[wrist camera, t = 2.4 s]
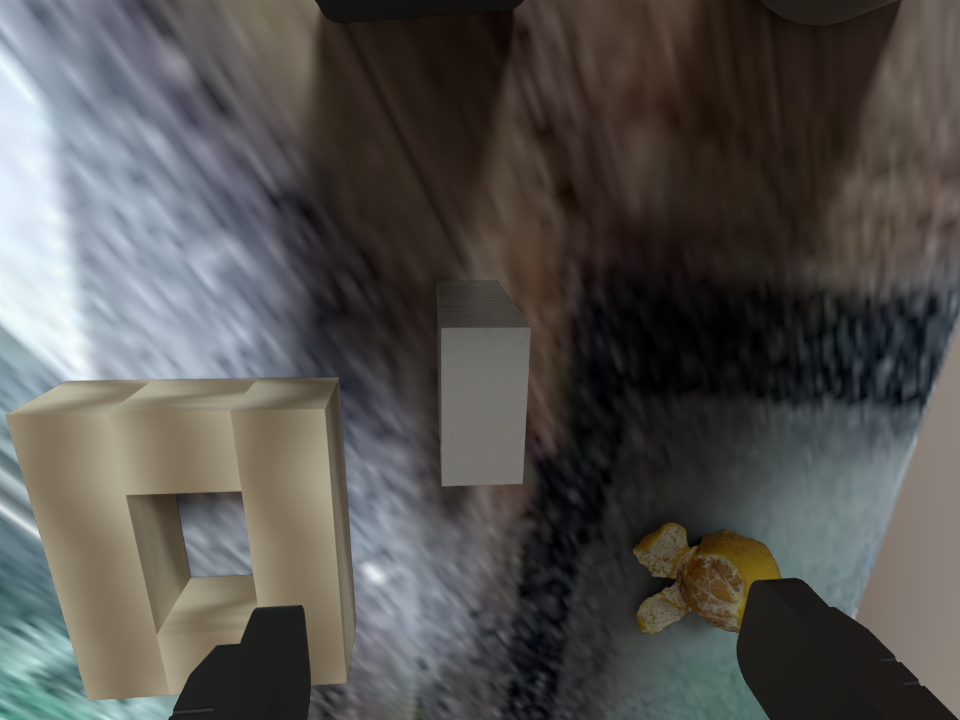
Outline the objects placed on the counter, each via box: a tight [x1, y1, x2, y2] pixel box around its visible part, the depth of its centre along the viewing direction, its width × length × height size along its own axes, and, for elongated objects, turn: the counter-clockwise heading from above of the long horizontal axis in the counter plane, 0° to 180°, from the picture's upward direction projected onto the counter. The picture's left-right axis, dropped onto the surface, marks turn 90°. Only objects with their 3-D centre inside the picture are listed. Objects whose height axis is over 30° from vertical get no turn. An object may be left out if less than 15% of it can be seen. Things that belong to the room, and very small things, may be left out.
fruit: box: [633, 522, 781, 635], centre depth 31 cm, size 8×8×4 cm
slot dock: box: [5, 377, 356, 701], centre depth 27 cm, size 13×16×4 cm
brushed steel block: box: [437, 280, 531, 486], centre depth 23 cm, size 3×6×9 cm, turn 179°
